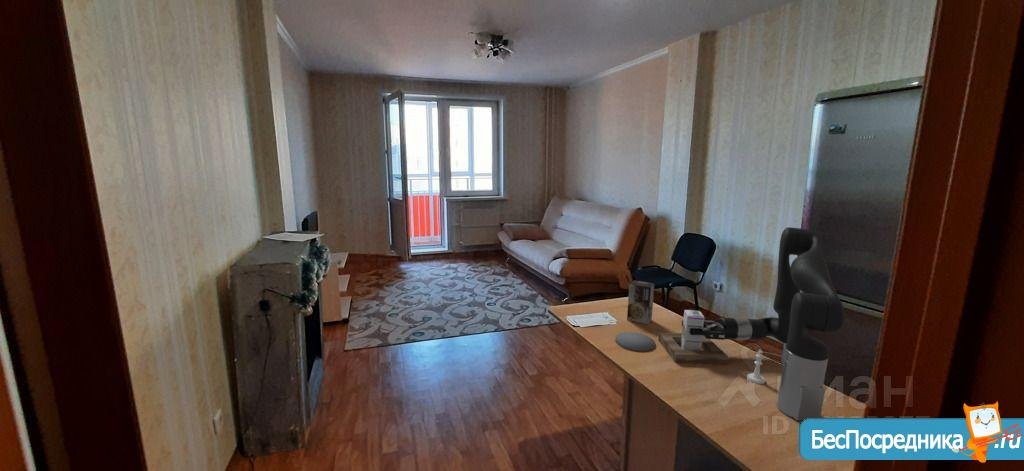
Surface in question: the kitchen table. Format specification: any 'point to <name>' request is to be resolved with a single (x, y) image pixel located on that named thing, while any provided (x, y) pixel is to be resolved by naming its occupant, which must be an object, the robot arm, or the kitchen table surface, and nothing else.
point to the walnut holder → (706, 355)
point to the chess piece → (757, 370)
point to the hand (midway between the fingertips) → (686, 327)
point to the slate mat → (635, 341)
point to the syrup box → (690, 321)
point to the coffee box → (640, 301)
